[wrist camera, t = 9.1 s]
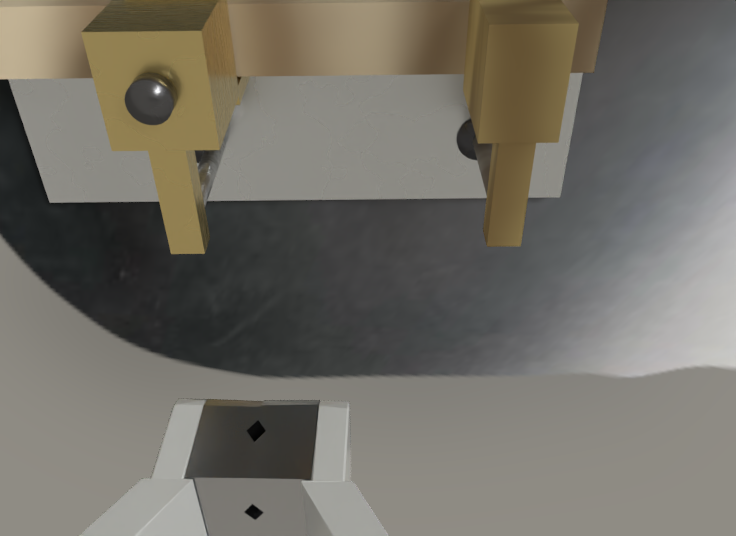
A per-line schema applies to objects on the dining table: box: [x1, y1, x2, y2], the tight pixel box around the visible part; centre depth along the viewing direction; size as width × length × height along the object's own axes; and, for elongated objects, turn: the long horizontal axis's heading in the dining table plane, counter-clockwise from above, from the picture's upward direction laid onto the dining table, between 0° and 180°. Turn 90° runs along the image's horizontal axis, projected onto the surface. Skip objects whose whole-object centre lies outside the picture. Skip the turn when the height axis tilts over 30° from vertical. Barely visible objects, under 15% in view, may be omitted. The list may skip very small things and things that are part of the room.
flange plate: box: [8, 73, 583, 203], centre depth 33 cm, size 27×13×1 cm, turn 91°
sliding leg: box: [81, 0, 249, 254], centre depth 29 cm, size 4×10×9 cm, turn 1°
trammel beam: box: [0, 0, 608, 247], centre depth 29 cm, size 26×9×8 cm, turn 91°
